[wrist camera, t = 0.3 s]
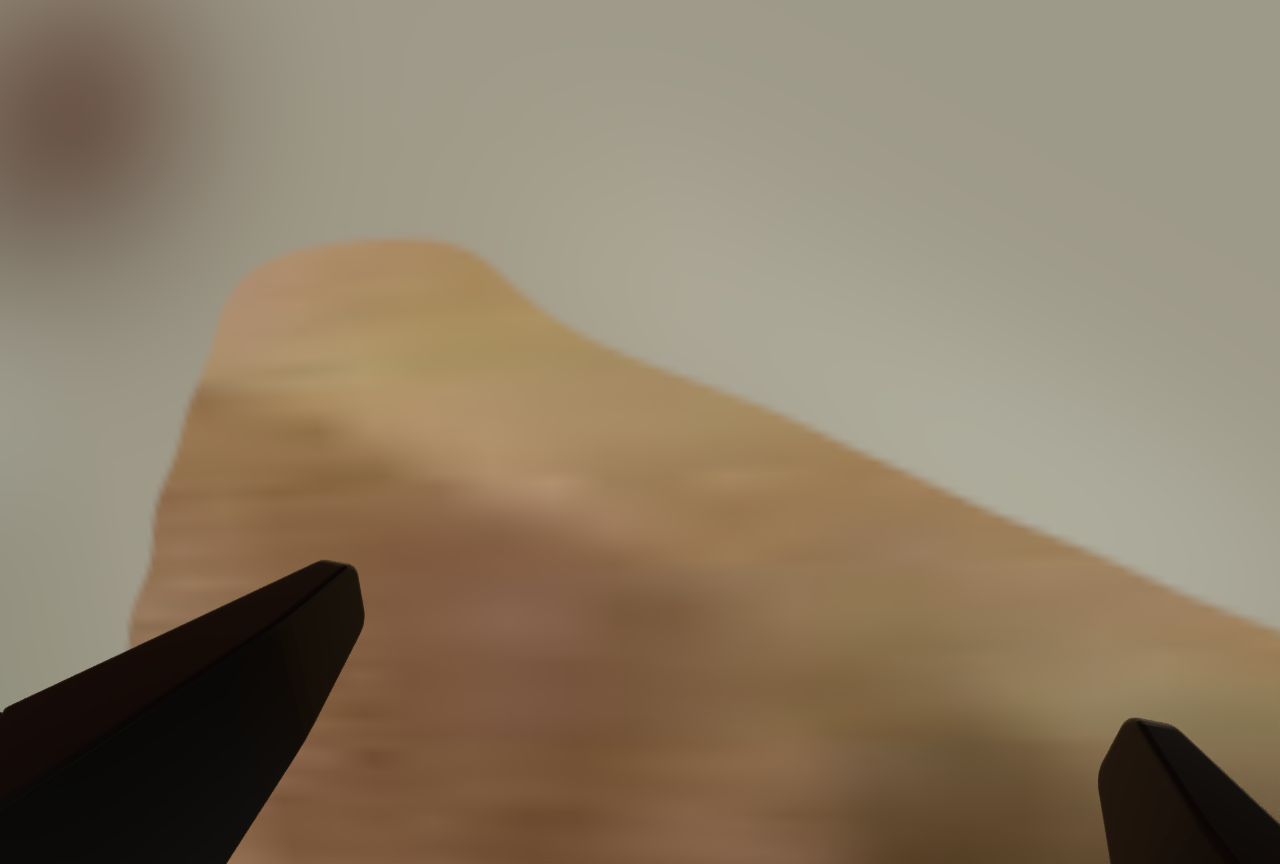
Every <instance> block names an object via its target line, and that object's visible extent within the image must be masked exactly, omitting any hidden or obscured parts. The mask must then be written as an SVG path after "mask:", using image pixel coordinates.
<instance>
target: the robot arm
mask: <svg viewBox="0 0 1280 864" xmlns="http://www.w3.org/2000/svg"><path fill="white" fill-rule="evenodd" d="M364 617H365V614H364V606H363V600H362V595H361V589H360V583H359V577H358V573H357V570H356V569H355V567H354V566H352V565H350V564H347V563H342V562H337V561H332V560H320V561H318V562H315V563H313V564H311V565H309V566H307V567H305V568H303V569H300V570H298V571H296V572H294V573H292V574H290V575H288V576H285V577H283V578H281V579H279V580H277V581H275V582H273V583H271V584H268V585H266V586H264V587H262V588H260V589H258V590H256V591H253V592H251V593H249V594H247V595H245V596H243V597H241V598H239V599H236V600H234V601H232V602H230V603H228V604H226V605H224V606H221V607H219V608H217V609H215V610H213V611H211V612H209V613H207V614H204V615H202V616H200V617H198V618H196V619H194V620H192V621H189V622H187V623H185V624H183V625H181V626H179V627H177V628H175V629H172V630H170V631H168V632H166V633H164V634H162V635H160V636H157V637H155V638H153V639H151V640H149V641H147V642H145V643H143V644H140V645H138V646H136V647H134V648H132V649H130V650H128V651H125V652H123V653H121V654H119V655H117V656H115V657H113V658H110V659H109V660H106V661H104V662H102V663H100V664H98V665H96V666H93V667H91V668H89V669H87V670H85V671H83V672H81V673H78V674H76V675H74V676H72V677H70V678H68V679H66V680H63V681H61V682H59V683H57V684H55V685H53V686H51V687H48V688H46V689H44V690H42V691H40V692H38V693H36V694H34V695H31V696H29V697H27V698H25V699H23V700H21V701H19V702H16V703H14V704H12V705H11V706H8V707H7V708H5V709H4V711H3V712H2V713H1V712H0V864H227V862H228V861H229V859H230V857H231V856H232V854H233V853H234V851H235V850H236V848H237V847H238V845H239V843H240V842H241V840H242V839H243V837H244V836H245V834H246V833H247V831H248V829H249V828H250V826H251V825H252V823H253V822H254V820H255V819H256V817H257V815H258V814H259V812H260V811H261V809H262V808H263V806H264V805H265V803H266V801H267V800H268V798H269V797H270V795H271V794H272V792H273V791H274V789H275V787H276V786H277V784H278V783H279V781H280V780H281V778H282V777H283V775H284V773H285V772H286V770H287V769H288V767H289V766H290V764H291V763H292V761H293V759H294V758H295V756H296V755H297V753H298V751H299V750H300V748H301V746H302V745H303V743H304V742H305V740H306V738H307V736H308V734H309V733H310V731H311V729H312V727H313V725H314V723H315V722H316V720H317V718H318V716H319V714H320V712H321V710H322V708H323V706H324V704H325V702H326V700H327V698H328V696H329V694H330V692H331V690H332V688H333V686H334V684H335V682H336V680H337V678H338V676H339V674H340V672H341V670H342V669H343V667H344V665H345V663H346V661H347V659H348V657H349V655H350V653H351V651H352V649H353V647H354V645H355V643H356V641H357V639H358V637H359V635H360V633H361V631H362V628H363V624H364ZM1098 789H1099V796H1100V802H1101V808H1102V814H1103V820H1104V826H1105V832H1106V838H1107V844H1108V851H1109V857H1110V863H1111V864H1280V823H1278V822H1277V821H1276V820H1275V819H1274V818H1273V817H1272V816H1271V815H1270V814H1269V813H1268V812H1267V811H1266V810H1265V809H1263V808H1262V807H1261V806H1260V805H1259V804H1258V803H1257V802H1256V801H1255V800H1254V799H1253V798H1252V797H1251V796H1250V795H1249V794H1247V793H1246V792H1245V791H1244V790H1243V789H1242V788H1241V787H1240V786H1239V785H1238V784H1237V783H1236V782H1235V781H1234V780H1232V779H1231V778H1230V777H1229V776H1228V775H1227V774H1226V773H1225V772H1224V771H1223V770H1222V769H1221V768H1220V767H1219V766H1217V765H1216V764H1215V763H1214V762H1213V761H1212V760H1211V759H1210V758H1209V757H1208V756H1207V755H1206V754H1205V753H1204V752H1202V751H1201V750H1200V749H1199V748H1198V747H1197V746H1196V745H1195V744H1194V743H1193V742H1192V741H1191V740H1190V739H1189V738H1187V737H1186V736H1185V735H1184V734H1183V733H1182V732H1181V731H1180V730H1178V729H1177V728H1176V727H1174V726H1172V725H1169V724H1166V723H1161V722H1156V721H1151V720H1146V719H1141V718H1130V719H1128V720H1126V721H1125V722H1124V723H1123V725H1122V726H1121V728H1120V730H1119V732H1118V734H1117V736H1116V737H1115V739H1114V741H1113V743H1112V745H1111V747H1110V749H1109V751H1108V753H1107V754H1106V756H1105V758H1104V760H1103V762H1102V764H1101V767H1100V770H1099V776H1098Z"/></svg>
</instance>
